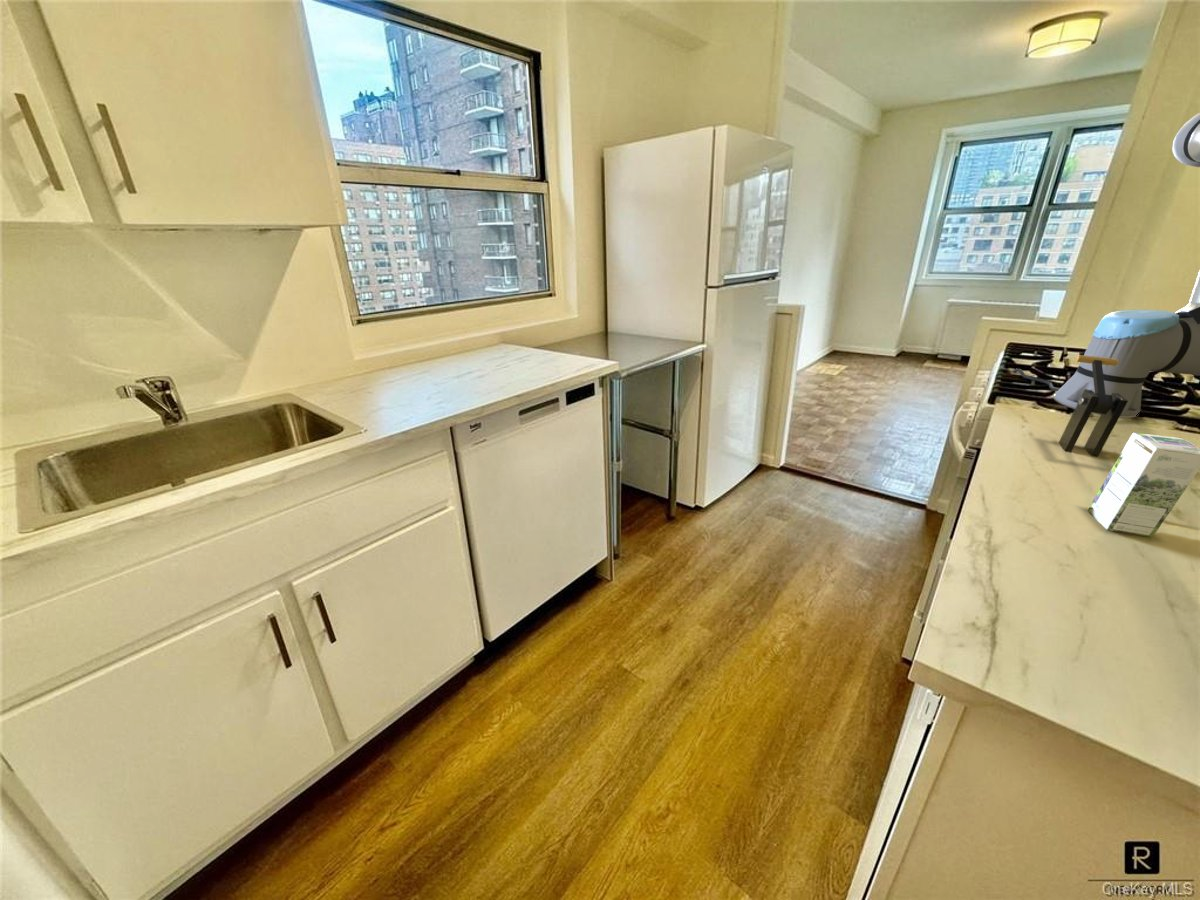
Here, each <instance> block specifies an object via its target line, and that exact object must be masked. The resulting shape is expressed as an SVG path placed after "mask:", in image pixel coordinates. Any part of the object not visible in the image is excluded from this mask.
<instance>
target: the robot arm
mask: <svg viewBox="0 0 1200 900" xmlns="http://www.w3.org/2000/svg"><path fill="white" fill-rule="evenodd" d="M1172 153H1173V156H1174V157H1175V159H1176V160H1177V161H1179V162H1180V163H1181V164H1183V165H1186V166H1190V167H1194V168H1200V112H1199V113H1197V114H1195V115H1193V116H1192V117H1191V118H1190V119H1189V120H1187V121H1186V122H1185V123H1184V124H1183V125H1182V126H1181V128H1179V130H1178V132H1177V133H1176V134H1175V137H1174V139H1173V143H1172ZM1083 355H1086V356H1095V357H1105V358H1114V359H1118V360H1119V361H1118V364H1117V365H1116V366H1109V365H1102V368H1103V377H1104V385H1105V394H1106V395H1112V393H1119V394H1120V395H1121V396H1123V397H1124V398H1125V399H1126V400H1127V401H1128V402H1127V404H1126V406H1125V408H1124V409H1123V411H1122V413H1121V415H1120V417H1119V418H1135V417H1137V416H1138V415H1139V414H1140V412H1141V406H1142V393H1143V392H1142V390H1143V385H1144V383H1145V381H1146V380H1147V377H1148V376H1149V374H1150V372H1153V373H1155V372H1156V373H1166V374H1178V375H1189V376H1190V375H1191V376H1196V377H1200V270H1199V271H1198V274H1197V277H1196V280H1195V283H1194V286H1193V289H1192V292H1191V296H1190V298H1189V301H1188V304H1186V306H1184V307H1182V308H1180V309H1179V310H1177V311H1175V312H1172V311H1168V310H1158V309H1157V310H1156V309H1153V310H1150V309H1126V310H1118V311H1117V310H1116V311H1112V312H1110V313H1108V314H1106V315H1104V316H1103V318H1101V320H1100V321H1099V323H1098V325H1097V326H1096V328H1095V329H1094V330H1093V332H1092V336H1091V339H1090V341H1089V343H1088V345H1087V347H1086V349H1085V352H1084V354H1083ZM1011 372H1012V373H1017V372H1018V373H1019V374H1020V376H1021V377H1022V378H1024V379H1027V380H1030V381H1034V382H1038V383H1043V384H1046V385H1048V387H1049V389H1050V390H1052V391H1056V393H1055V394H1054V395H1053V400H1054V401H1055V402H1057V403H1058V404H1060V405H1062V406H1064V407H1067V408H1070V409H1073V410H1075V408H1076V406H1077V404H1078V402H1079V400H1080V398H1081V396H1082V394H1083V392H1084V390H1085V389H1088V390H1092V391H1093V392H1094V393H1095V388H1094V378H1093V368H1092V364H1091V363H1082V362H1079V365H1078V367H1077V369H1076V371H1075V372H1074V374H1073V375H1072V376H1071V377H1070V378H1069V379H1068V380H1067V381H1066V382H1065V383H1064V384H1063V385H1062V386H1061V387H1055V386H1054V383H1052V382H1051V381H1049V380H1045V379H1042V378H1037V377H1033V376H1030V375H1027V374H1026V373H1025V372H1024V371H1023V370H1022V369H1021V368H1016V369H1013V370H1012V371H1011ZM1138 413H1139V414H1138ZM1091 414H1093V415H1098V416H1101V413H1094V412H1091ZM1137 414H1138V415H1137ZM1136 415H1137V416H1136Z"/></svg>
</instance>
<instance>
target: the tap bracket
mask: <svg viewBox="0 0 1200 900" xmlns="http://www.w3.org/2000/svg"><path fill="white" fill-rule="evenodd" d="M1098 399H1099V397H1098V396H1097V395H1096V394H1095V393H1094V392H1093V391H1092V390H1088V389H1085V390H1084V392H1083V394H1082V396H1081V398H1080V400H1079V402H1078V404H1077V406H1076V408H1075V409H1073V412H1072V415H1071V417H1070V419H1069V420H1068V423H1067V424H1066V427H1065V429H1064V431H1063V433H1062V435H1061V436H1060V439H1059V441H1058V444H1059V446H1060V447H1061V449H1062V450H1063V451H1064V452H1066V453H1072V451H1073V449H1074V448H1075V445H1076V444H1077V441H1078V439H1079V438H1080V436H1081V434H1082V432H1083V430H1084V428H1085V426H1086V424H1087V422H1088V420H1089V418H1090V416H1091V414H1092V413H1091V412H1092V410H1093V408H1094V406H1095V404H1096V403H1097V401H1098ZM1112 399H1113V407H1112V408H1111V409H1110V410H1109V411H1108V412H1107V413H1106V414H1101V415H1099V418H1098V419H1097V421H1096V423H1095V424H1094V427H1093V429H1092V430H1091V432H1090V435H1089V436H1088V439H1087V441H1086V442H1085V444H1084V446H1083V448H1084V449H1085V450H1086V451H1087V453H1088V454H1089V455H1090V456H1091V457H1095V458H1098V457H1099V456H1100V453H1101V452H1102V451H1103V448H1104V446H1105V445H1106V442H1107V441H1108V439H1109V438H1110V435H1111V434H1112V432H1113V430H1114V428H1115V426H1116V424H1117V423H1118V421H1119V419H1120V418H1121V417H1120V415H1121V413H1122V411H1123V409H1124V408H1125V406H1126V404H1127V402H1128V401H1127V400H1126V399H1125V398H1124V397H1123V396H1121V395H1120V394H1119V393H1112Z"/></svg>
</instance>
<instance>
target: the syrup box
mask: <svg viewBox="0 0 1200 900" xmlns="http://www.w3.org/2000/svg"><path fill="white" fill-rule="evenodd" d="M1199 470H1200V447H1198V446H1197V445H1196V444H1194V443H1193V442H1191V441H1189V440H1186V439H1184V438H1182V437H1177V436H1167V435H1157V434H1150V433H1149V434H1148V433H1139V432H1133V433H1131V435H1130V436H1129V439H1128V441H1127V442H1126V443H1125V445H1124V447H1123V449H1122V450H1121V452H1120V454H1119V456H1118V457H1117V460H1116V461H1115V462H1114V464H1113V466H1112V468H1111V469H1110V471H1109V473H1108V474H1107V476H1106V478H1105V480H1104V482H1103V484H1102V485H1101V487H1100V488H1099V490H1098V492H1097V494H1096V495H1095V497H1094V498H1093V500H1092V501H1091V504H1090V507H1088V509H1087V511H1088V513H1089V514H1090V515H1091V516H1092V517H1093V518H1094V519H1095V520H1096V521H1097V522H1098V523H1099V524H1100V525H1101V526H1102V527H1103V528H1104V529H1105V530H1107V531H1111V532H1118V533H1123V534H1130V535H1135V536H1142V537H1147V538H1148V537H1149V538H1153V537H1154V536H1155V535H1156V533H1157V531H1158V530H1159V528H1160V527H1161V526H1162V524H1163V523H1164V521H1165V520H1166V519H1167V517H1168V515H1169V514H1170V513H1171V512H1172V510H1173V509H1174V507H1175V506H1176V504H1177V503H1178V501H1179V500H1180V498H1181V497H1182V495H1183V494H1184V492H1185V491H1186V489H1187V488H1188V487H1189V485H1190V484H1191V482H1192V481H1193V479H1194V478H1195V476H1196V475H1197V473H1198V472H1199Z"/></svg>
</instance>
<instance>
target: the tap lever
mask: <svg viewBox="0 0 1200 900" xmlns="http://www.w3.org/2000/svg"><path fill="white" fill-rule="evenodd" d="M1118 361H1119V360H1118V359H1114V358H1105V357H1095V356H1086V355H1084V354H1078V355H1076V357H1075V361H1074V362H1075V363H1080V362H1082V363H1091V364H1092V368H1093V378H1094V388H1095V394H1096V395H1097V396H1098V397H1099V399H1098V401H1097V403H1096V404H1095V406H1094V408H1093V410H1092V412H1094V413H1101V414H1106V413H1107V412H1108V411H1109V410H1110V409H1111V408H1112V407H1113V399H1112V395H1106V394H1105V385H1104V377H1103V368H1102V365H1109V366H1116V365H1117V364H1118Z"/></svg>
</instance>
